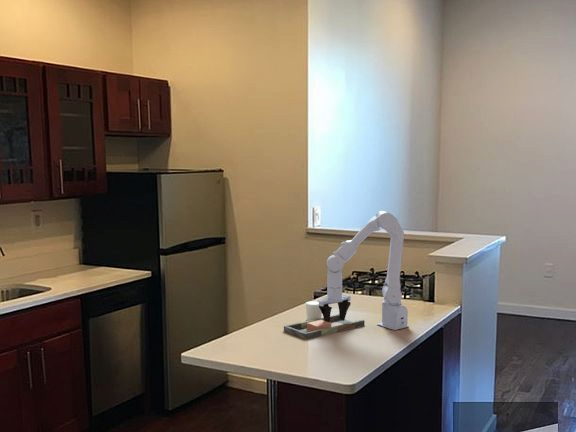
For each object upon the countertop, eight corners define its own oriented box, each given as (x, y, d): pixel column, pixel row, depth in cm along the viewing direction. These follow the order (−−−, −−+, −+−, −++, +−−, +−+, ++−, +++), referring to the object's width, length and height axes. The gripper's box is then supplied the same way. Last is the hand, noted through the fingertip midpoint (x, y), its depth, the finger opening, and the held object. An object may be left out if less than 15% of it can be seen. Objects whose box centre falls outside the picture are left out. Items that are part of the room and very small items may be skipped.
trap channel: (364, 325, 234) (364, 320, 234) (305, 339, 217) (305, 333, 216) (342, 318, 244) (342, 313, 244) (283, 331, 227) (283, 326, 227)
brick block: (331, 330, 228) (331, 323, 228) (316, 334, 224) (316, 326, 224) (321, 327, 233) (321, 319, 233) (306, 330, 229) (306, 322, 229)
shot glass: (321, 322, 239) (321, 305, 238) (304, 321, 240) (304, 304, 239) (323, 318, 245) (323, 301, 245) (307, 317, 247) (306, 300, 246)
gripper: (341, 282, 239) (341, 316, 241) (313, 287, 231) (313, 322, 232) (354, 285, 234) (354, 320, 235) (325, 290, 225) (325, 326, 227)
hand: (334, 321), depth 233 cm, fingers open, 7 cm apart
